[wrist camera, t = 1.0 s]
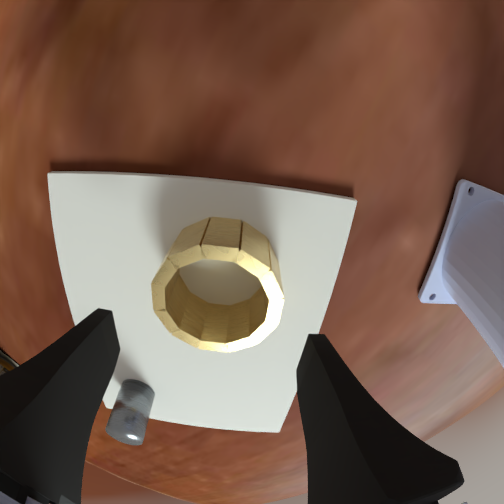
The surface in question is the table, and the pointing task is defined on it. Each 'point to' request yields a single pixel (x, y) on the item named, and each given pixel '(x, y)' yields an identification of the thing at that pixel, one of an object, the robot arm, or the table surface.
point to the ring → (209, 314)
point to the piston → (131, 412)
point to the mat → (197, 285)
